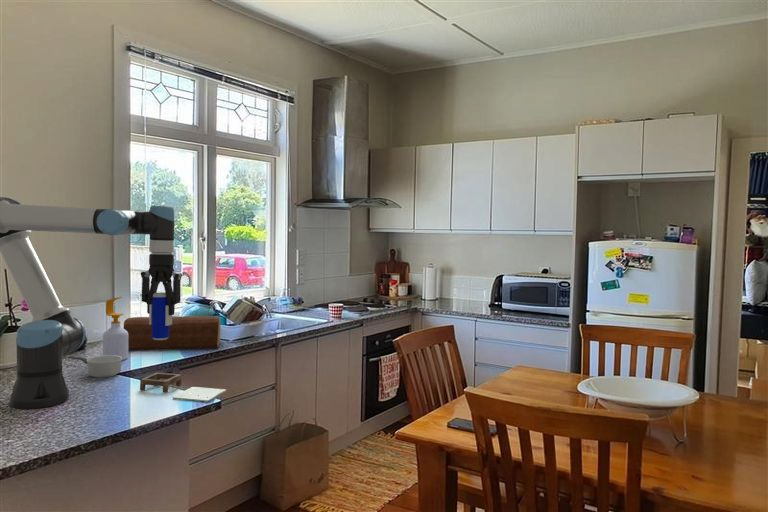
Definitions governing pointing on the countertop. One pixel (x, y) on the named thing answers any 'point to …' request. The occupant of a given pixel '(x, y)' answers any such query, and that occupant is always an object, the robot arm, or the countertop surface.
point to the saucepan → (101, 365)
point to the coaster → (200, 394)
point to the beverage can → (159, 316)
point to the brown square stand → (156, 381)
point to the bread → (175, 333)
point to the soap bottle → (115, 335)
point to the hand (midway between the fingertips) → (160, 324)
